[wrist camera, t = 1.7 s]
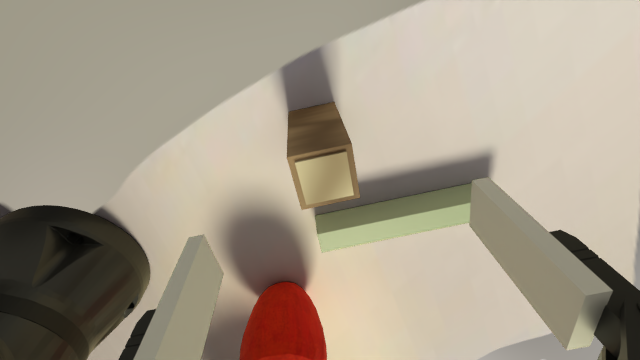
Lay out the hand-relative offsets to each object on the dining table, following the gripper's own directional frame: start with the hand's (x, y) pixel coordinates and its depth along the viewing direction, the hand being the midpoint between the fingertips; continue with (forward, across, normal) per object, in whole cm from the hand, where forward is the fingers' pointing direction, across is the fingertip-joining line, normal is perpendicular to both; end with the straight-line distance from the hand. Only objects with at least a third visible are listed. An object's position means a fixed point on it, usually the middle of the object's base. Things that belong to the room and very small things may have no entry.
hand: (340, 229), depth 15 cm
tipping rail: (+14, +7, -10) cm, 19 cm away
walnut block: (+14, 0, 0) cm, 14 cm away
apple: (+14, -8, -20) cm, 26 cm away
